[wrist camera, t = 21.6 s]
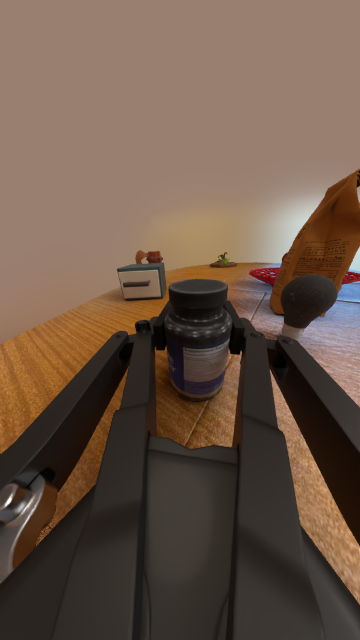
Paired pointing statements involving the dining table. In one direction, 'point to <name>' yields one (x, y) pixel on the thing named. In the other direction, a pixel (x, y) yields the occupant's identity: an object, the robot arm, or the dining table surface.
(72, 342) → the dining table surface
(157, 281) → the drawer
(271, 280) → the bowl
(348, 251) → the coffee package
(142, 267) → the cabinet
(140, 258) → the mug
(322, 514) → the dining table surface
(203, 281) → the pill bottle
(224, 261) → the plant
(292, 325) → the light bulb
